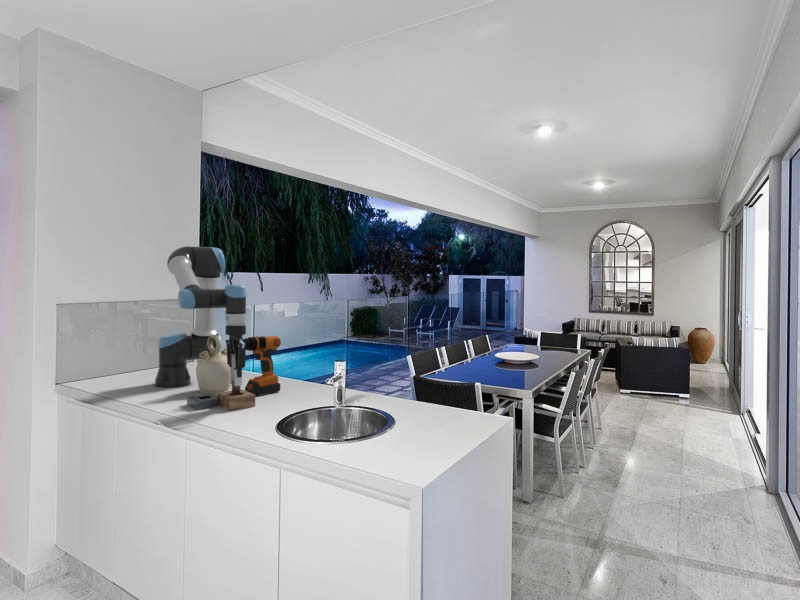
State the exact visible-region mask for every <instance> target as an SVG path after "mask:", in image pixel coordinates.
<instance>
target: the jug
mask: <svg viewBox="0 0 800 600" xmlns="http://www.w3.org/2000/svg"><path fill="white" fill-rule="evenodd" d="M213 338H214V339H215V341H216V349H214V347H213V345H212V341H213ZM207 345H208V348H209V350H210V351H211V352H210V353H209V354H208V351H203V352H201V353H200V355H199V357H201V359H198V362H197V363H196V367H195V375H196V379H197V380H196V381H197V385H198V389H199V392H200V394H210V393H213V394H217V393H220V392H226V391H230V388H231V386H232V384H230V367H229V365H228V364H227V348H224V349H223V350H221V349H222V339H221V340H220V338H219V337H218V336H217V335H211V336H210V337H209V338H208V341H207ZM219 351H221V352H219Z"/></svg>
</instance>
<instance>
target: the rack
mask: <svg viewBox="0 0 800 600" xmlns="http://www.w3.org/2000/svg"><path fill="white" fill-rule="evenodd" d="M216 395H217V397H219V398H220V406H219V407H222V408H224V409H225V410H228V411H229V412H232V411H237V410H242V409H248V408H252V407H256V396H255V394H252V393H250V392H247V391H245V389H241V388H240V395H236V396H232V390H228V391H225V392H220V393H216Z"/></svg>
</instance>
